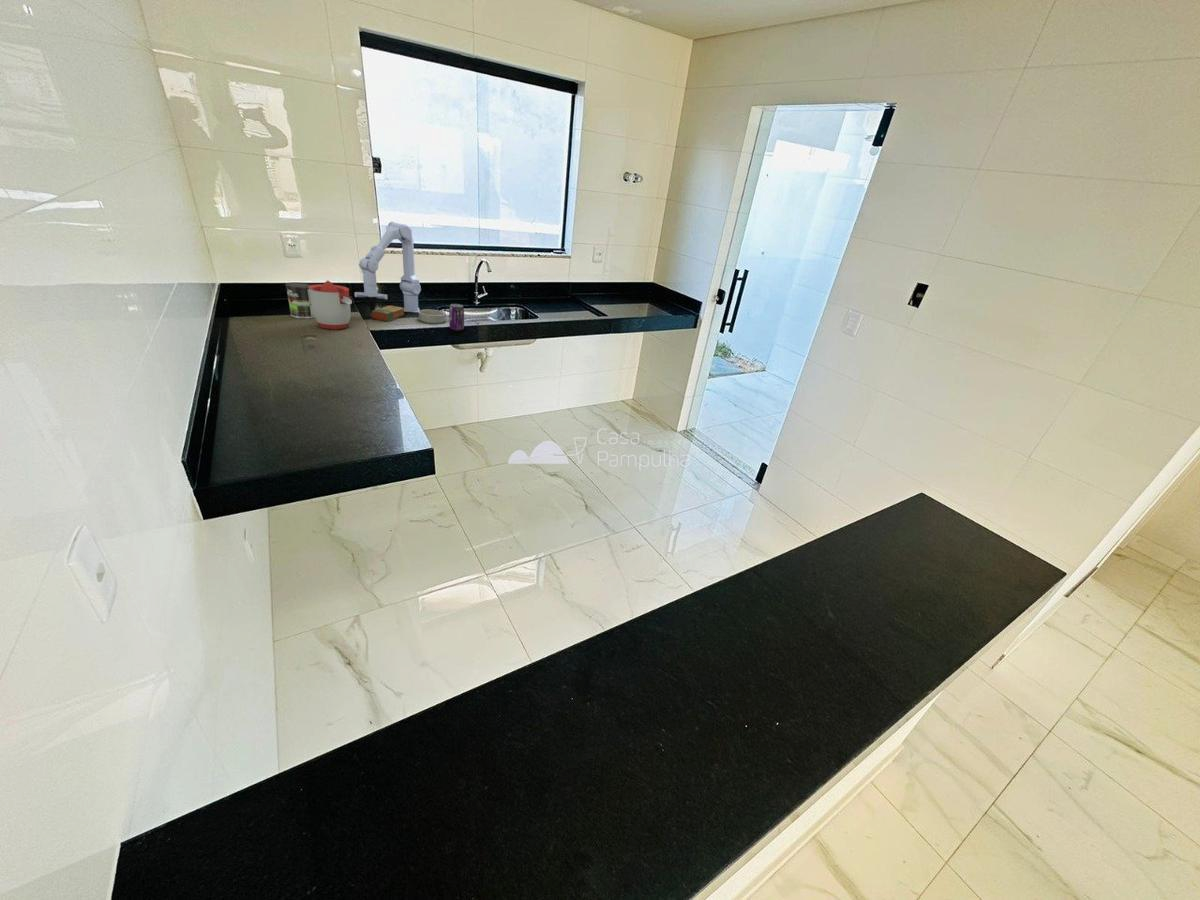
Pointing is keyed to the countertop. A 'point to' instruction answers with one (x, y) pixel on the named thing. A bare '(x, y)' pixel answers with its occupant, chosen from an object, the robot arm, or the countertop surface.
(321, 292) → the citrus juicer
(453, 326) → the beverage can
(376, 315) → the carton
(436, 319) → the beige round dish
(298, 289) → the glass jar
